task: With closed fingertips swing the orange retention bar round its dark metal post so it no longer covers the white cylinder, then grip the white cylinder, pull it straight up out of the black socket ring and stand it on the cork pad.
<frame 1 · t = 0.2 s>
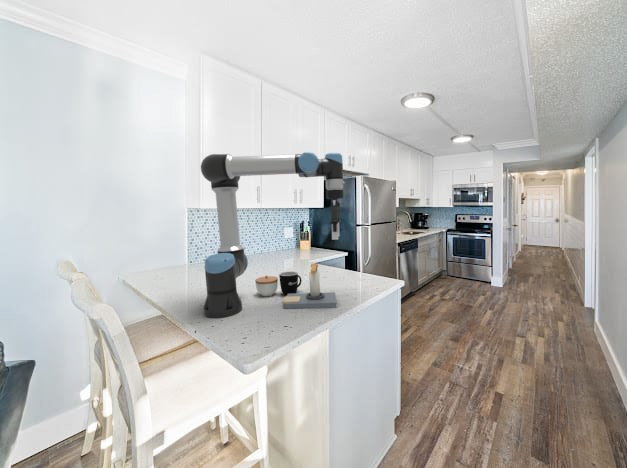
hand: (336, 237, 122), 27 cm above the countertop, fingers open, 13 cm apart
clip: (313, 268, 119), point 15 cm above the countertop, hinge at 0.0°
lidded jar: (267, 294, 134), on the countertop
socket board: (310, 302, 120), on the countertop
white cylinder: (315, 297, 121), point 2 cm above the countertop, touching socket board
mug: (292, 293, 135), on the countertop
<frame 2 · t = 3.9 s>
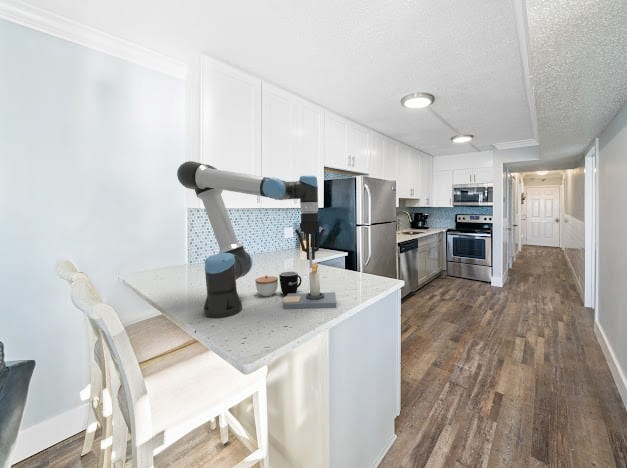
hand: (311, 267, 119), 16 cm above the countertop, fingers closed
clip: (314, 268, 119), point 15 cm above the countertop, hinge at 1.9°, touching gripper
everything else where it was.
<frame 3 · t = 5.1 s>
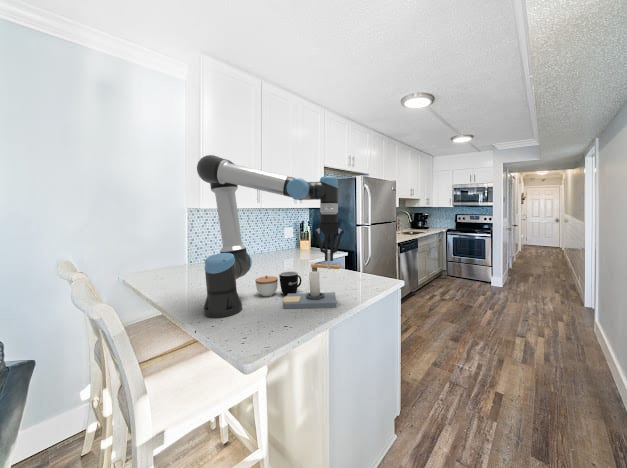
hand: (328, 268, 118), 15 cm above the countertop, fingers closed
clip: (325, 266, 122), point 15 cm above the countertop, hinge at 62.9°, touching gripper
everything else where it was.
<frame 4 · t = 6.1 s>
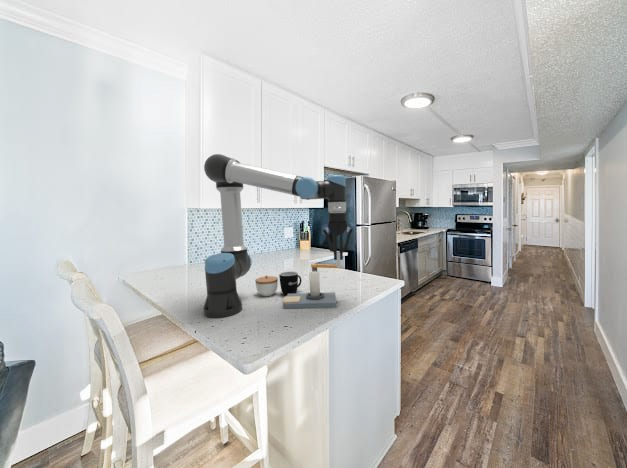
hand: (338, 267, 118), 15 cm above the countertop, fingers closed
clip: (325, 266, 123), point 15 cm above the countertop, hinge at 71.5°, touching gripper
everything else where it was.
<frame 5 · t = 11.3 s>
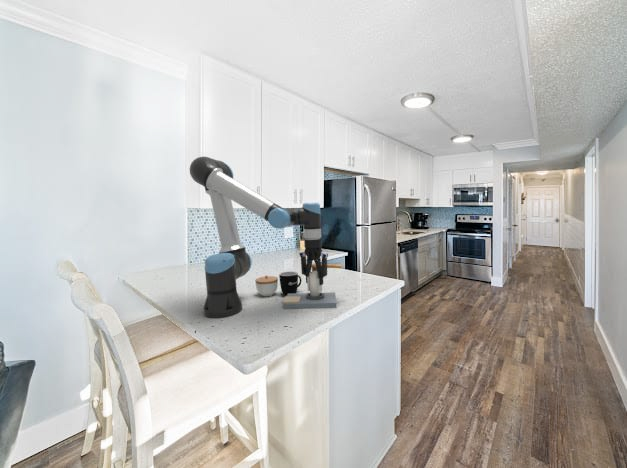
hand: (314, 291, 121), 5 cm above the countertop, fingers closed on white cylinder, 4 cm apart
clip: (325, 266, 123), point 15 cm above the countertop, hinge at 72.2°
white cylinder: (315, 297, 121), point 2 cm above the countertop, touching gripper, socket board
everything else where it was.
when the fingers open (6 cm above the countertop, at t = 17.8 s): white cylinder stays where it is, resting on socket board.
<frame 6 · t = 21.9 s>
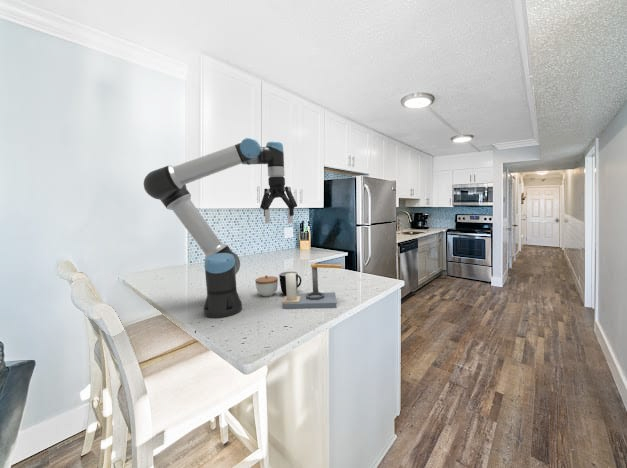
hand: (278, 223, 128), 35 cm above the countertop, fingers open, 13 cm apart
white cylinder: (291, 298, 119), point 2 cm above the countertop, touching socket board
everything else where it was.
at the end: white cylinder inside the target area (0.0 cm from its centre), point 2.4 cm above the countertop; white cylinder tilted 0°; clip at +72° (first picture: +0°) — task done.
